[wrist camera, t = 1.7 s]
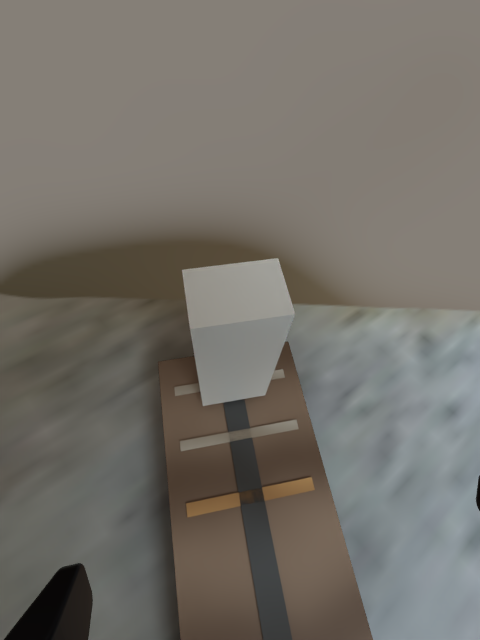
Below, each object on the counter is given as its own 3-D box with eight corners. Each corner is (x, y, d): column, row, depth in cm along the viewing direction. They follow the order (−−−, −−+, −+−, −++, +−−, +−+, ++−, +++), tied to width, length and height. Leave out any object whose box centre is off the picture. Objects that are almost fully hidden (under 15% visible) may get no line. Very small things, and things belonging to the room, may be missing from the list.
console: (358, 642, 17) (380, 663, 14) (191, 689, 15) (186, 719, 13) (281, 357, 24) (288, 340, 21) (163, 376, 23) (157, 360, 20)
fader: (264, 395, 19) (295, 314, 11) (203, 406, 19) (190, 329, 11) (256, 356, 20) (278, 258, 13) (197, 365, 20) (182, 269, 12)
